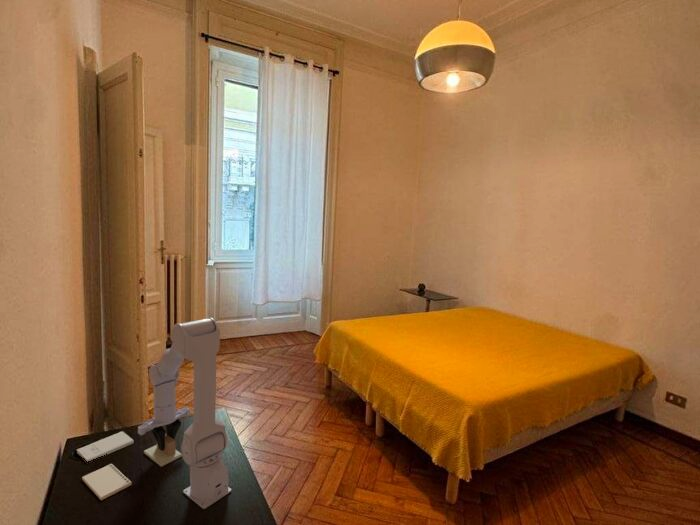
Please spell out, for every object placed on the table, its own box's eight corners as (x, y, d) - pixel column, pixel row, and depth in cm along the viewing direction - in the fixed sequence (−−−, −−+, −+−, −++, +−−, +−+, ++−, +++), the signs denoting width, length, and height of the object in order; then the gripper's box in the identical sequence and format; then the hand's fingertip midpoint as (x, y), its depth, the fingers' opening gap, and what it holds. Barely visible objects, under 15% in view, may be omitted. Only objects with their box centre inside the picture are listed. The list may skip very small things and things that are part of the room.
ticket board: (131, 484, 97) (131, 481, 97) (101, 500, 91) (100, 497, 91) (111, 466, 104) (111, 463, 104) (82, 479, 98) (82, 476, 98)
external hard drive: (133, 445, 115) (87, 465, 105) (122, 435, 120) (76, 453, 110) (133, 440, 115) (86, 459, 105) (121, 430, 120) (76, 448, 110)
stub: (181, 456, 109) (181, 440, 109) (161, 466, 104) (160, 450, 104) (164, 443, 115) (163, 428, 114) (144, 453, 110) (143, 437, 110)
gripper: (181, 390, 117) (182, 431, 118) (132, 408, 105) (133, 453, 107) (193, 397, 113) (194, 439, 114) (144, 416, 101) (145, 463, 103)
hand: (166, 447), depth 110 cm, fingers closed on stub, 2 cm apart
